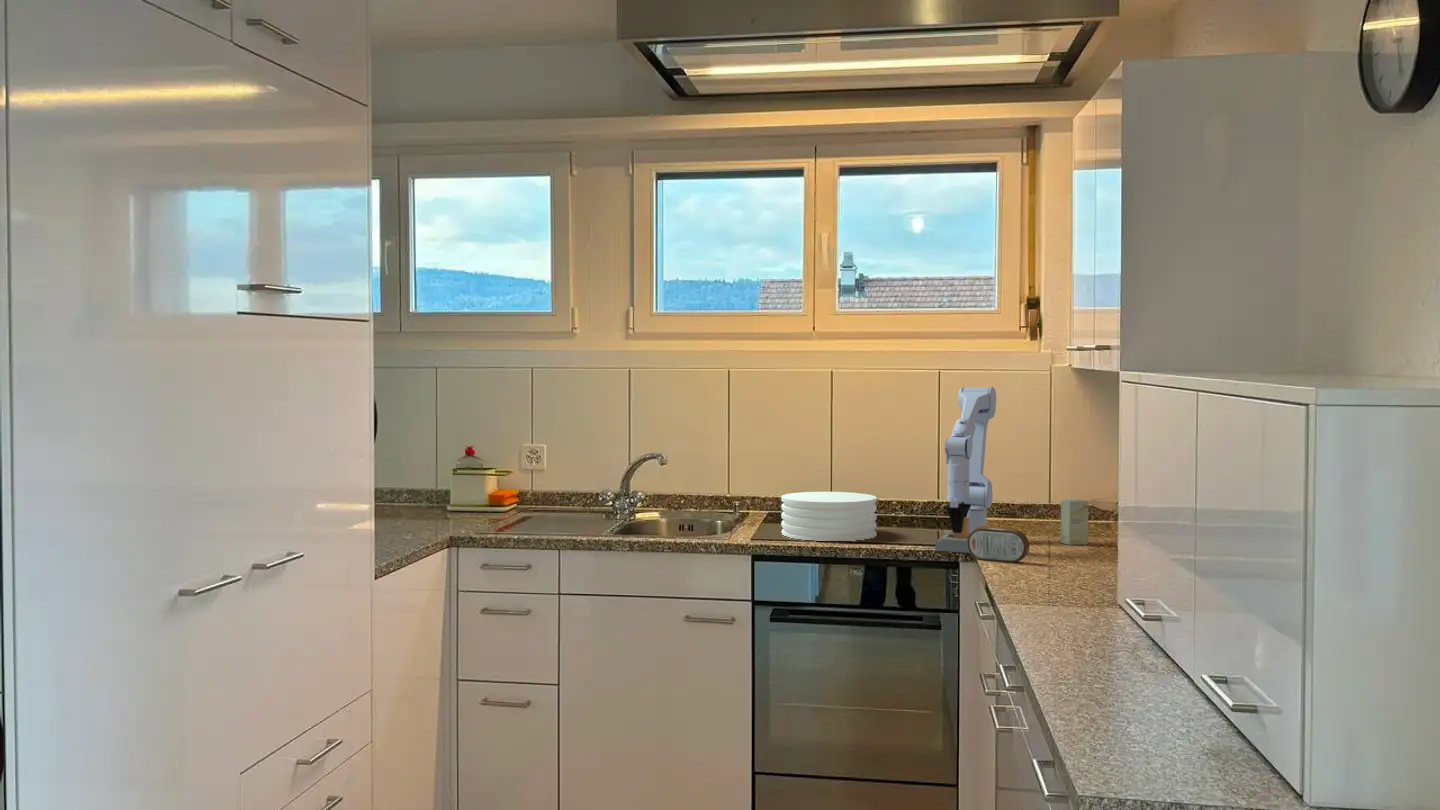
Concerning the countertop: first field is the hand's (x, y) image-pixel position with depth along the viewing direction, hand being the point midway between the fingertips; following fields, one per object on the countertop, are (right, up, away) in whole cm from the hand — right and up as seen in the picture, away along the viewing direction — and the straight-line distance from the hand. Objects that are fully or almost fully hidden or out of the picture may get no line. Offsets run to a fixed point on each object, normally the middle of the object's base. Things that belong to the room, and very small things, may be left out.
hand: (958, 531), depth 260 cm
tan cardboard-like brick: (+1, -2, 0) cm, 2 cm away
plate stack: (-32, -5, +26) cm, 41 cm away
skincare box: (+35, -5, +8) cm, 36 cm away
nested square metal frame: (0, -5, 0) cm, 5 cm away
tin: (+5, -5, -18) cm, 20 cm away
